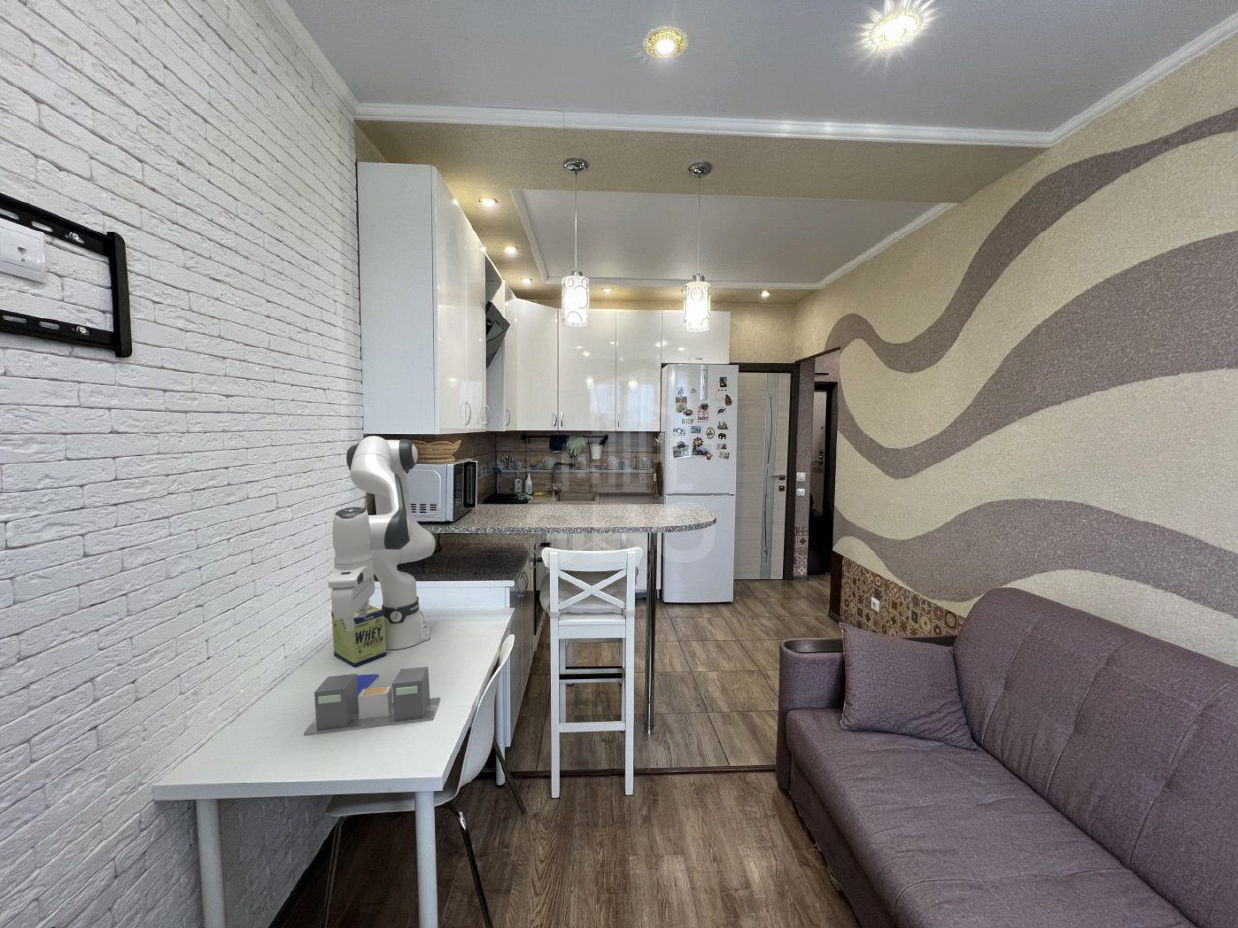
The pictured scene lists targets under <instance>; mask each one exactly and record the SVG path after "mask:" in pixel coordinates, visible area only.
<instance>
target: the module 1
mask: <svg viewBox="0 0 1238 928" xmlns="http://www.w3.org/2000/svg"><path fill="white" fill-rule="evenodd" d="M357 675H358V674H357V673H351V674H343V675H342V674H340V675H331V676H327V677H326V678H325V679H324V681H323V682H322V683H321V684H320V685H319V686H318V687H317V688H316V690H315V691H314V692H313V693H314V705H315V706H314V709H315V718H316V725H317V729H323V728H332V727H340V726H347V725H348V724H349V722H350V721H351V719H352V718H353V716H354V715H355V713H356V712H357V710H358V709H359V703H358V688H357Z"/></svg>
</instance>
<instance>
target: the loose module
mask: <svg viewBox="0 0 1238 928" xmlns="http://www.w3.org/2000/svg"><path fill="white" fill-rule="evenodd" d="M392 703H393V691H392V686H391V685H390V686H381V687H371V688H368V689H363V690H362V691H361V693H360V694H359V696H358V704H359V719H366V718H374V717H383V716H389V714H390V712H391V711H392V709H393V706H392Z"/></svg>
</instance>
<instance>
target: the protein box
mask: <svg viewBox="0 0 1238 928" xmlns="http://www.w3.org/2000/svg"><path fill="white" fill-rule="evenodd" d="M381 609H382V608H378V607H376V606H373V605H371V604H368V609H367V610H368V614H367V615H366V616H365V617H359V610H360V609H359V610H358V611H357V612H356V613H355V614H354V618H353V620H354V622H355V627H356V628H355V629H354V630H353V631H351V632H347V631H346V625H345V623H344V621H343V619H341V620H336V619H335V617H334V615H333V610H332V611H330V612H331V625H332V626H331V627H332V642H333V656H334V657H336V658H337V659H339V660H341V661H343V662H344V663H346V664H347V665H349V666H351V667H353V668H357V667H359V666H362V665H365V664H368V663H371V662H374V661H376V660H378V659H382V658H384V657H386V656H387V649H386V642H385V624H384V610H381Z"/></svg>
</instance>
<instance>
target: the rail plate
mask: <svg viewBox="0 0 1238 928" xmlns="http://www.w3.org/2000/svg"><path fill="white" fill-rule="evenodd" d="M440 701H441V697H440V696H439V697H438V696H437V697H430V701H429V704H428V706H427V709H426V711H425V714H424V716H423V717H416V718H408V719H399V720H394V708H393V709H392V711H391V712H390V714H389V716H383V717H374V718H366V719H359V709H358V710H357V712H356V713H355V715H354V716H353V718H352V719H351V721H350V722H349V724H348V725H347V726H340V727H332V728H323V729H317V725H316V717H315V718H314V719H313V721H312V722H311V723H310V724H309V726H308V727H307V728H306V729H305V731H303V735H304V736H309V735H310V736H311V735H317V734H328V733H335V732H344V731H352V730H360V729H368V728H377V727H385V726H394V725H395V726H396V725H401V724H408V723H409V724H410V723H419V722H420V723H421V722H426V721H427V722H429V721H434V718H435V715H436V712H437V710H438V707H439V704H440ZM392 706H393V702H392Z"/></svg>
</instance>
